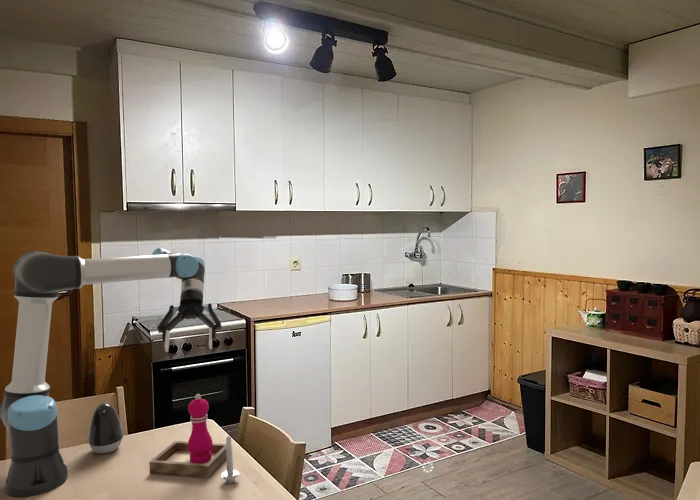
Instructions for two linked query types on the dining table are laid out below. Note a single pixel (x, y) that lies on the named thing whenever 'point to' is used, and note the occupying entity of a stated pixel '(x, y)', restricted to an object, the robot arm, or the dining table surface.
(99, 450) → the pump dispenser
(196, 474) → the walnut tray
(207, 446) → the pepper mill
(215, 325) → the robot arm
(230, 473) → the screw
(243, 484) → the dining table surface
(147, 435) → the dining table surface
